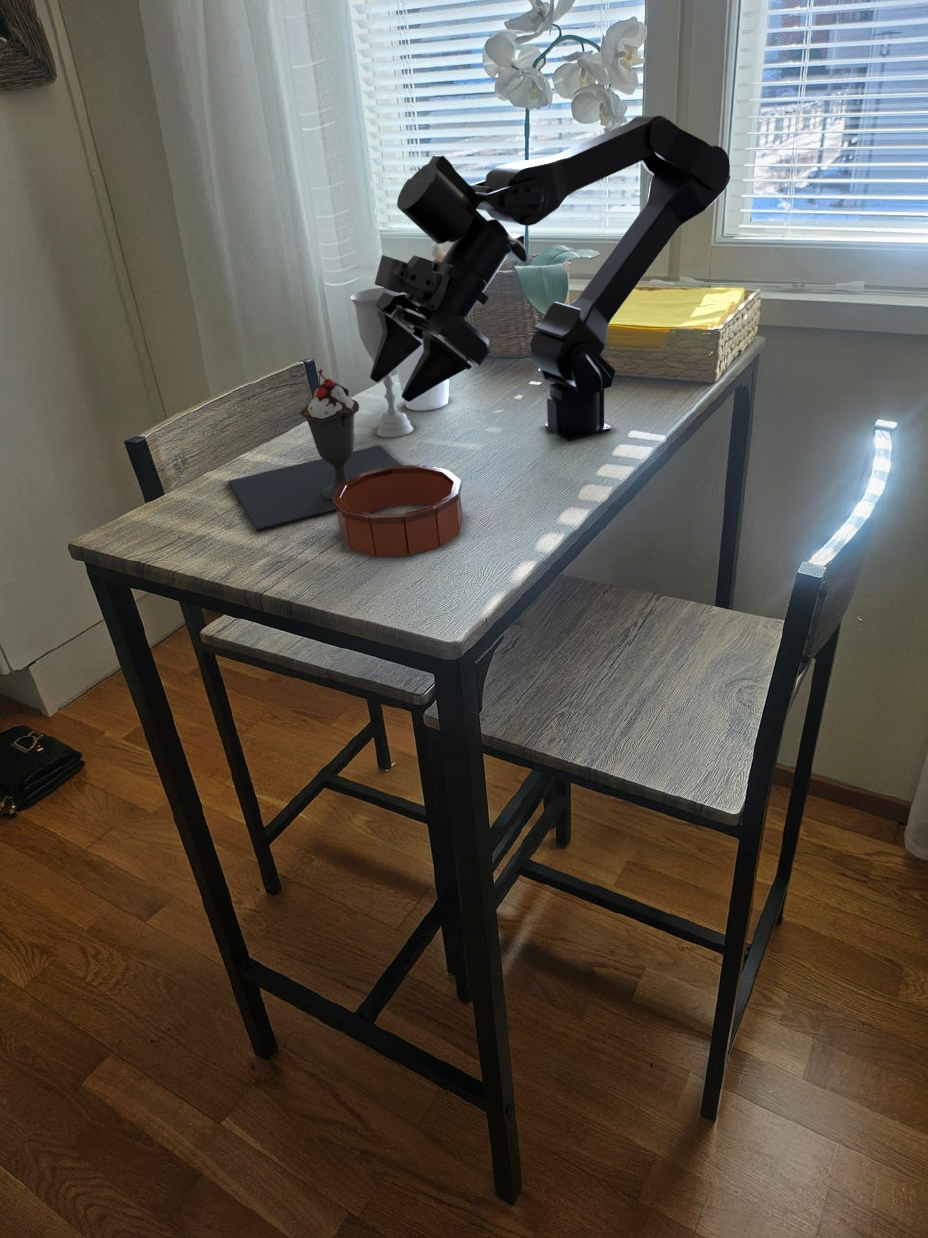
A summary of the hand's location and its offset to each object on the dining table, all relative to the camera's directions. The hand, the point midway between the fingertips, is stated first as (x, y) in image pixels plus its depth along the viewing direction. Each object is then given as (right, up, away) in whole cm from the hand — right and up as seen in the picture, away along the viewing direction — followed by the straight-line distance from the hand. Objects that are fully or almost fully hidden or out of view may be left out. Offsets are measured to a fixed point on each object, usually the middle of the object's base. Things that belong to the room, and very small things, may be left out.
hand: (388, 389), depth 100 cm
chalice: (-1, 0, +21) cm, 21 cm away
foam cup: (+3, +6, +30) cm, 30 cm away
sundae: (-5, -11, +3) cm, 13 cm away
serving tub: (+2, -16, -6) cm, 17 cm away
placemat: (-8, -10, +6) cm, 14 cm away
